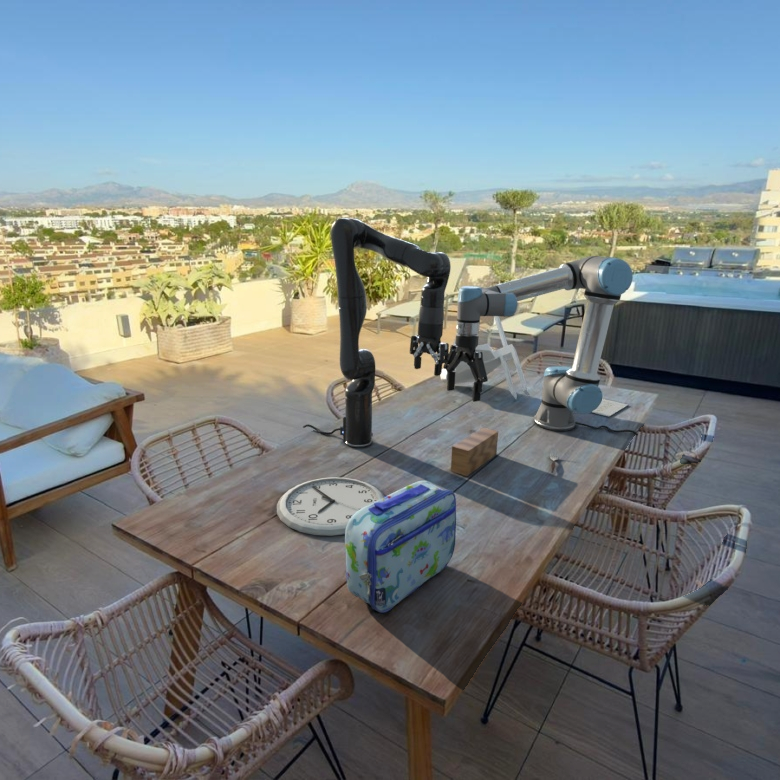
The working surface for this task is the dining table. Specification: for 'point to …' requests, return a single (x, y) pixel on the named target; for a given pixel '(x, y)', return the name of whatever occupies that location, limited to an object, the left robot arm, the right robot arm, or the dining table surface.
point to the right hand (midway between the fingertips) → (463, 395)
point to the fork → (554, 460)
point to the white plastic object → (491, 363)
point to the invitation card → (608, 407)
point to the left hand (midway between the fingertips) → (427, 372)
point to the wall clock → (325, 504)
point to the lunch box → (399, 543)
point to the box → (474, 451)
